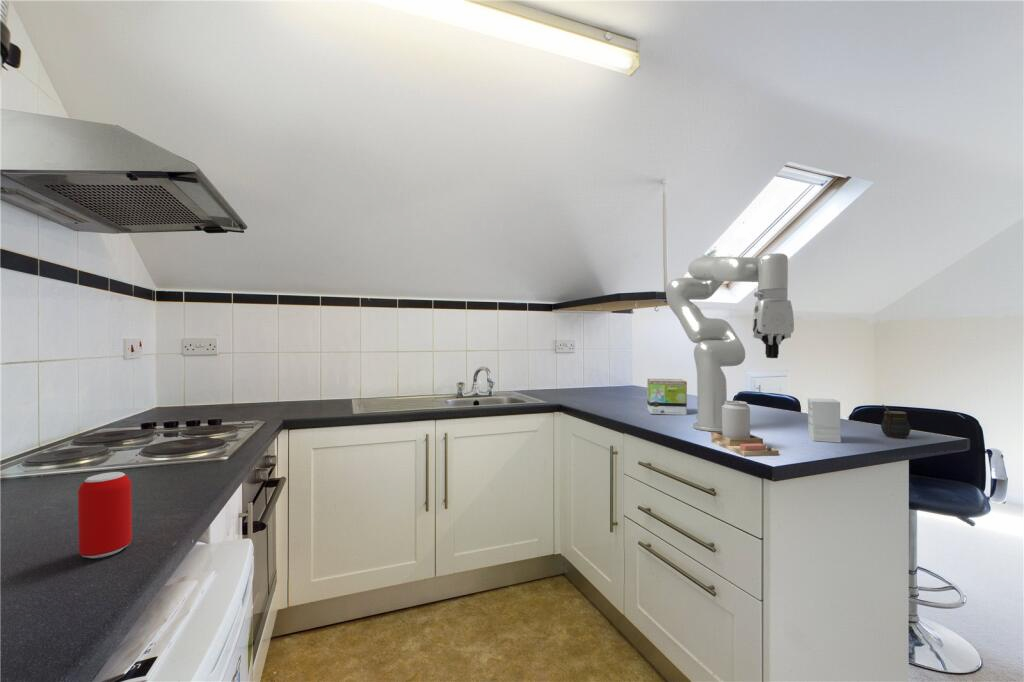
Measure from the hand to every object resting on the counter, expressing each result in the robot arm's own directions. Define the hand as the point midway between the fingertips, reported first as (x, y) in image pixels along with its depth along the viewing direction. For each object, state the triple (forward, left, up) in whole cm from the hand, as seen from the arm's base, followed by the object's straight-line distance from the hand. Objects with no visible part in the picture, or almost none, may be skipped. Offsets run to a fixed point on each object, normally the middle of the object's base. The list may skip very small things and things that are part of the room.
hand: (771, 357), depth 130 cm
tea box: (-61, -6, -27) cm, 67 cm away
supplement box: (-6, +21, -27) cm, 35 cm away
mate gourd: (-7, +46, -27) cm, 54 cm away
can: (-3, -10, -25) cm, 27 cm away
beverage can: (+51, -146, -27) cm, 157 cm away
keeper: (+7, -11, -25) cm, 28 cm away
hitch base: (+1, -10, -26) cm, 28 cm away
